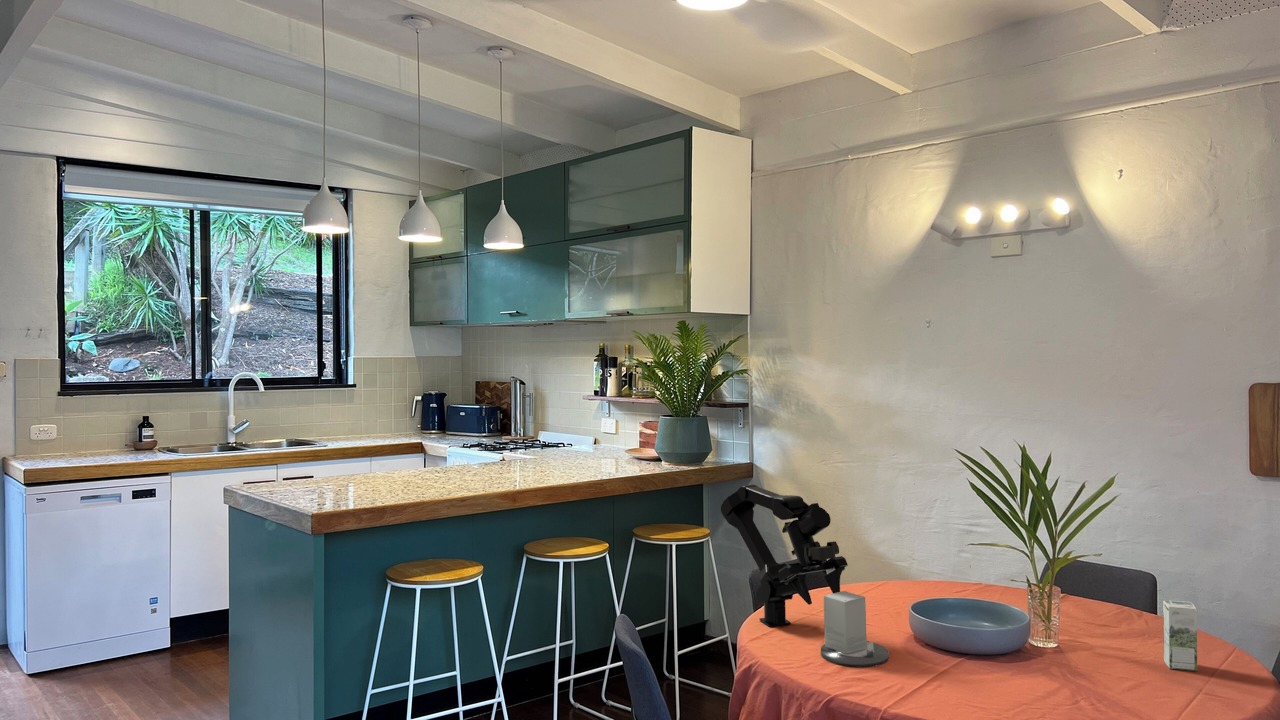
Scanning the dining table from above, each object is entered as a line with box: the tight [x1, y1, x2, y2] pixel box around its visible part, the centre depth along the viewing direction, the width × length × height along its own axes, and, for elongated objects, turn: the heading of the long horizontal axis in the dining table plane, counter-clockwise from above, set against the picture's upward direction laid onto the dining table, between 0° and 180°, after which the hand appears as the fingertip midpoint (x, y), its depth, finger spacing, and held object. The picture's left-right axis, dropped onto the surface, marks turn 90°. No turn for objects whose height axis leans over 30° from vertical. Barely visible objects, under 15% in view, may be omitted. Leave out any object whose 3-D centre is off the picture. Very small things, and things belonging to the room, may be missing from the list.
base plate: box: [820, 640, 890, 668], centre depth 217 cm, size 16×16×4 cm
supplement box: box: [823, 590, 868, 654], centre depth 219 cm, size 7×7×13 cm
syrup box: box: [1162, 599, 1198, 672], centre depth 205 cm, size 6×6×14 cm
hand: (824, 601), depth 225 cm, fingers open, 9 cm apart
